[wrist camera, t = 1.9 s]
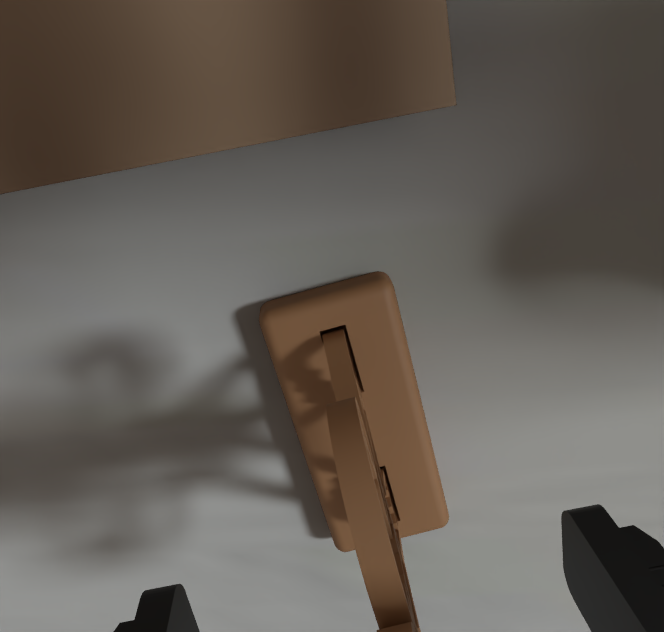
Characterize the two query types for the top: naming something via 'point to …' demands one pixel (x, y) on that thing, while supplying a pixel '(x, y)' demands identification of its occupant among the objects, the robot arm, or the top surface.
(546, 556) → the top surface
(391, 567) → the gingerbread man figurine
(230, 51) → the walnut plinth
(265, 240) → the top surface
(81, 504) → the top surface
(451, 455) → the top surface
